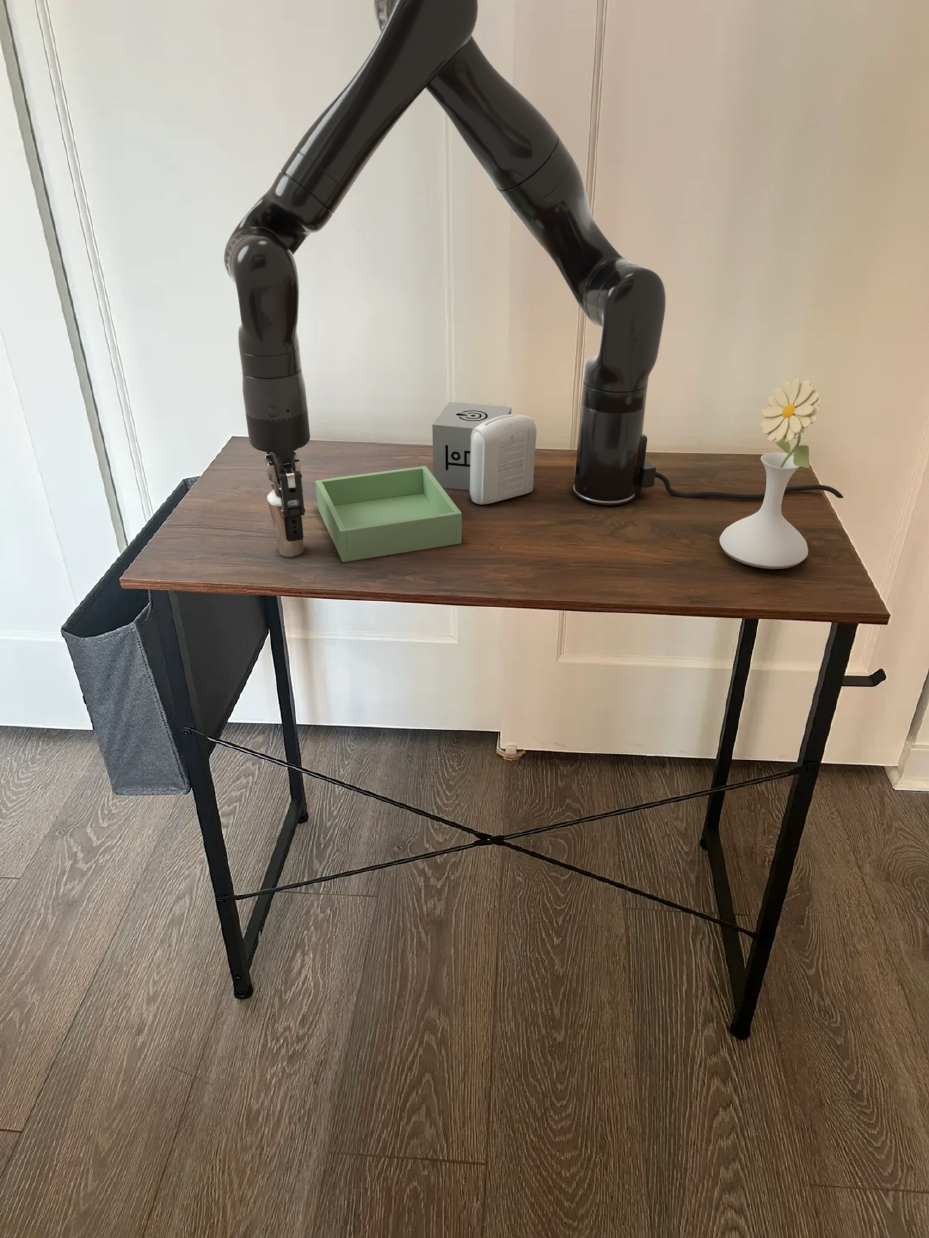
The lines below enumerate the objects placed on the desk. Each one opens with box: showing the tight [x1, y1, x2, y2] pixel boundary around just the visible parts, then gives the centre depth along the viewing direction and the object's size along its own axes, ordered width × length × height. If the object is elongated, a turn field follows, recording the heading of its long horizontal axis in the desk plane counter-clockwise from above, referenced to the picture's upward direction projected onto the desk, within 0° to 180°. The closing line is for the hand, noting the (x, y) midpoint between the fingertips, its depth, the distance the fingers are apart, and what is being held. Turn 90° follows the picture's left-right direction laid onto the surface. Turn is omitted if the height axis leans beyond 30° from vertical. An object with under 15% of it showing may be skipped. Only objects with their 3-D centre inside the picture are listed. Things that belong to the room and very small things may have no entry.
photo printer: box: [469, 413, 537, 506], centre depth 132 cm, size 10×4×12 cm, turn 123°
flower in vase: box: [719, 378, 822, 570], centre depth 113 cm, size 13×11×25 cm
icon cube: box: [431, 401, 512, 491], centre depth 138 cm, size 10×10×10 cm
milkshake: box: [266, 488, 304, 558], centre depth 118 cm, size 4×5×10 cm
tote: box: [315, 465, 463, 563], centre depth 126 cm, size 17×17×5 cm
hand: (289, 526), depth 119 cm, fingers open, 7 cm apart
